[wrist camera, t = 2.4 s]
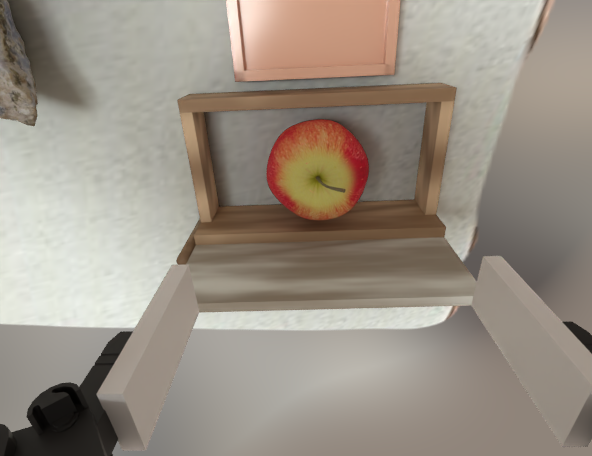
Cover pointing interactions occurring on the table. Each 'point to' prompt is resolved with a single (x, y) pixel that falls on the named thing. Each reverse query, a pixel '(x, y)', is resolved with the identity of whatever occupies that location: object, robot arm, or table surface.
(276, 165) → the apple
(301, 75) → the dish
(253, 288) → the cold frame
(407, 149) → the table surface
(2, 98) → the rock
